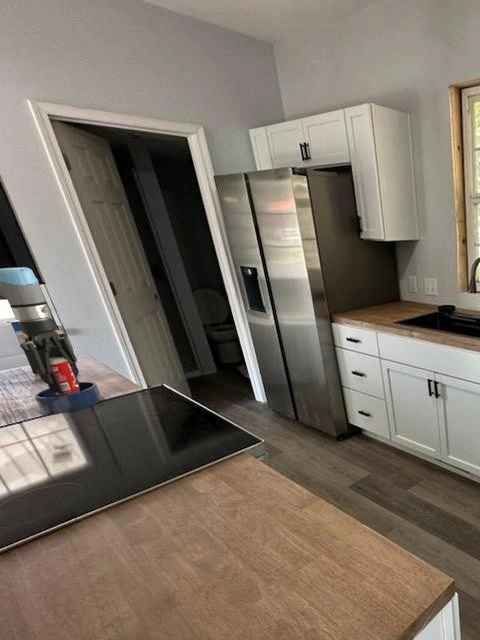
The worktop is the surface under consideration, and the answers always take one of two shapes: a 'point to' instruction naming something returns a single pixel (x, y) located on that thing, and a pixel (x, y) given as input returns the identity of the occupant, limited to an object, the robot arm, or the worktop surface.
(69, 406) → the blue bowl
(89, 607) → the worktop surface
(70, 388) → the beverage can
